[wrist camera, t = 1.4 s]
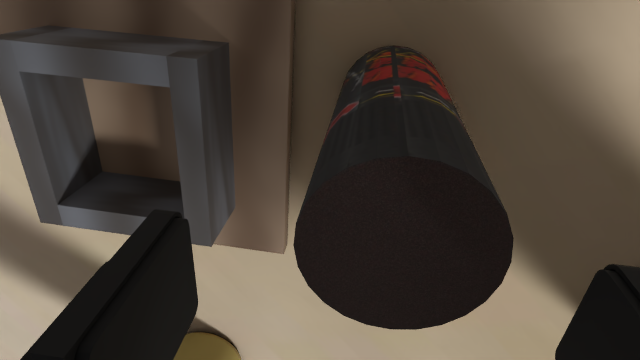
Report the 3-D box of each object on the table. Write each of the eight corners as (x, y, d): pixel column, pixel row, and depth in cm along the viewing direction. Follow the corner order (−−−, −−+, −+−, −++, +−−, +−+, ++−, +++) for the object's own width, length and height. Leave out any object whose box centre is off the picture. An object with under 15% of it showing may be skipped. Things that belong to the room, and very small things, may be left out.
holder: (296, -23, 22) (270, -18, 17) (287, 244, 31) (268, 298, 26) (-9, -47, 24) (-113, -49, 19) (64, 212, 32) (5, 258, 27)
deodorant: (458, 116, 24) (544, 295, 11) (369, 157, 26) (354, 349, 13) (416, 25, 22) (461, 114, 9) (323, 77, 24) (253, 210, 11)
